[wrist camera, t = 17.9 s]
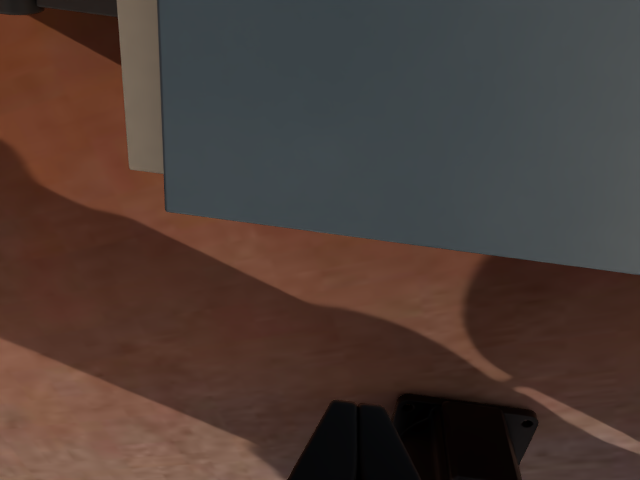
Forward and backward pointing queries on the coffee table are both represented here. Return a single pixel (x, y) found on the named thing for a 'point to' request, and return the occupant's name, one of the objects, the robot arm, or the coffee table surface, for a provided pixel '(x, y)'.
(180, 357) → the coffee table surface
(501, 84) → the cabinet
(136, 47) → the drawer
